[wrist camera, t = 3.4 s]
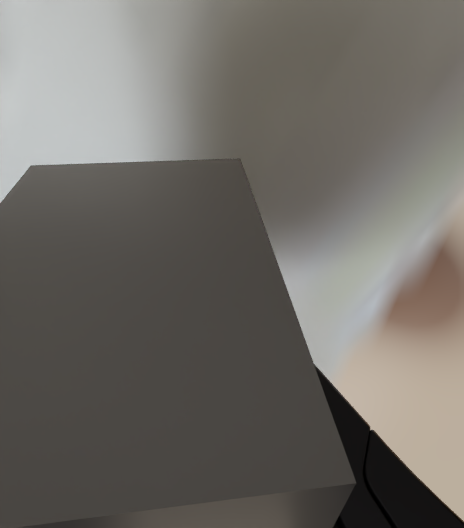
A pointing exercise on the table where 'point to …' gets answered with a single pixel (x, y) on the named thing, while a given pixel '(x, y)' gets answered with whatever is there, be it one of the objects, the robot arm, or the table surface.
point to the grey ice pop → (155, 357)
